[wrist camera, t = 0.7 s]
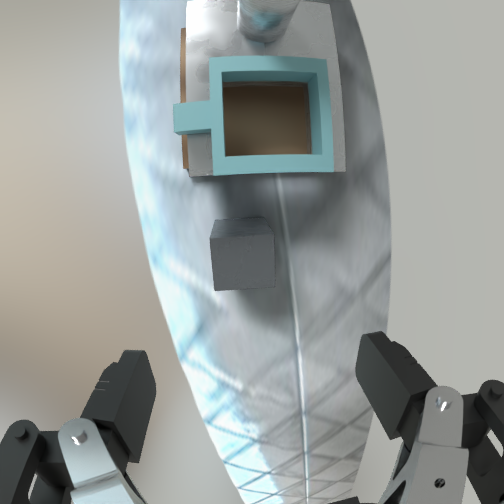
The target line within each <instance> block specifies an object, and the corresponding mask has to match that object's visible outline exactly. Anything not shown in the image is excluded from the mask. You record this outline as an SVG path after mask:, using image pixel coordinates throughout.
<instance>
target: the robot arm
mask: <svg viewBox="0 0 504 504" xmlns="http://www.w3.org/2000/svg"><path fill="white" fill-rule="evenodd" d="M356 377H357V380H358V382H359V384H360V385H361V387H362V389H363V391H364V393H365V395H366V396H367V398H368V400H369V402H370V404H371V406H372V407H373V409H374V411H375V413H376V415H377V417H378V418H379V420H380V422H381V424H382V426H383V428H384V430H385V432H386V433H387V435H388V437H389V439H390V440H392V439H395V438H398V437H402V439H403V442H402V444H401V447H400V450H399V454H398V457H397V460H396V463H395V466H394V469H393V472H392V475H391V478H390V481H389V483H388V486H387V488H386V490H385V491H384V493H383V495H382V497H381V498H380V500H379V502H378V504H461V503H462V498H463V493H464V487H465V481H466V475H467V476H468V478H469V480H470V482H471V484H472V486H473V488H474V490H475V492H476V494H477V496H478V498H479V500H480V502H481V504H504V451H503V456H502V457H501V456H500V455H499V453H498V452H497V450H496V449H495V447H494V445H493V444H492V443H491V441H490V439H489V438H488V436H487V434H488V433H489V431H490V430H491V429H492V431H493V432H494V434H495V435H496V437H497V438H498V440H499V441H500V442H501V444H502V446H503V450H504V383H502V382H500V381H497V380H488V381H486V382H484V383H483V384H482V386H481V387H480V389H479V391H478V393H474V394H468V395H460V393H459V392H458V391H456V390H455V389H453V388H451V387H447V386H437V385H436V383H435V382H434V381H433V380H432V379H431V377H430V376H429V375H428V374H427V372H426V371H425V370H424V369H423V368H422V367H421V365H420V364H418V363H417V361H416V359H415V358H414V357H412V355H411V354H410V352H409V351H408V350H407V349H406V348H405V347H404V346H402V345H400V344H398V343H397V342H395V341H393V342H391V341H390V340H389V338H388V337H387V336H386V335H385V334H384V333H383V332H382V331H379V332H374V333H368V334H363V335H362V337H361V340H360V346H359V351H358V357H357V362H356ZM155 397H156V383H155V379H154V376H153V373H152V370H151V367H150V363H149V360H148V357H147V354H146V352H145V351H143V350H125V351H124V352H123V354H122V356H121V358H120V360H119V362H118V363H116V362H113V363H112V364H111V365H110V366H108V367H107V368H106V369H105V370H104V371H103V373H102V375H101V377H100V379H99V382H98V383H97V384H96V386H95V390H94V391H93V392H92V394H91V396H90V398H89V400H88V402H87V404H86V406H85V408H84V410H83V413H82V415H81V417H80V418H75V419H72V420H69V421H68V422H66V423H65V424H64V425H63V426H62V427H61V428H60V430H59V431H39V430H38V428H37V427H36V425H35V424H34V423H33V422H31V421H29V420H19V421H16V422H15V423H13V424H12V425H11V426H10V427H9V429H8V430H7V432H6V434H5V436H4V438H3V439H2V441H1V443H0V504H71V499H72V500H73V503H74V504H148V503H147V502H146V501H145V499H144V497H143V496H142V495H141V493H140V491H139V490H138V488H137V487H136V485H135V484H134V482H133V480H132V479H131V477H130V476H129V474H128V472H127V471H126V467H127V463H128V462H133V463H139V461H140V456H141V451H142V448H143V444H144V440H145V435H146V431H147V427H148V423H149V420H150V416H151V412H152V408H153V404H154V401H155ZM34 474H36V475H37V479H36V481H35V484H34V487H33V490H32V493H31V497H30V500H29V499H28V492H29V489H30V486H31V483H32V480H33V477H34ZM329 504H375V503H359V500H358V497H357V496H356V497H352V498H349V499H345V500H341V501H337V502H333V503H329Z"/></svg>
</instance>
